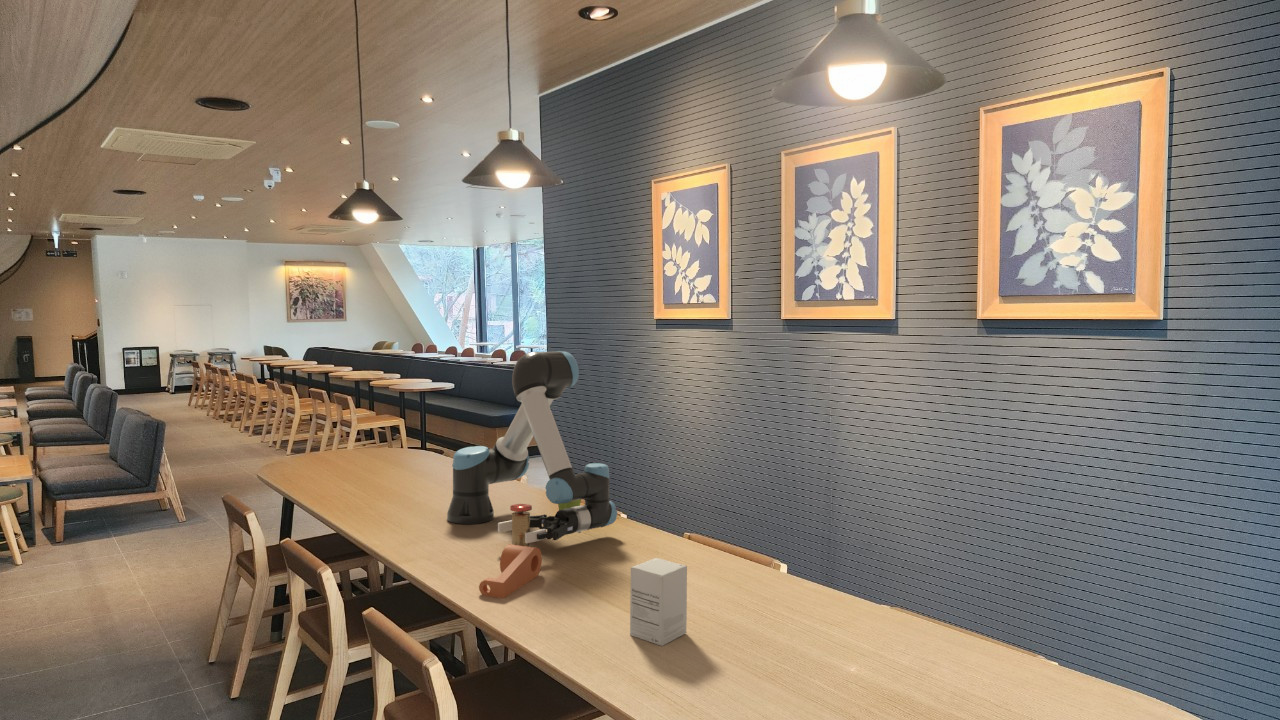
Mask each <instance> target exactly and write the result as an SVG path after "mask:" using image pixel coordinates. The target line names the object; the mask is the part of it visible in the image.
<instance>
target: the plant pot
mask: <svg viewBox="0 0 1280 720" xmlns="http://www.w3.org/2000/svg"><path fill="white" fill-rule="evenodd" d="M581 502H582V499H579V500H575V501H571V502H569V503H561V504H557V505H558V511H559V510H561V509H566V508H571V507H576V506H581Z"/></svg>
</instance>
